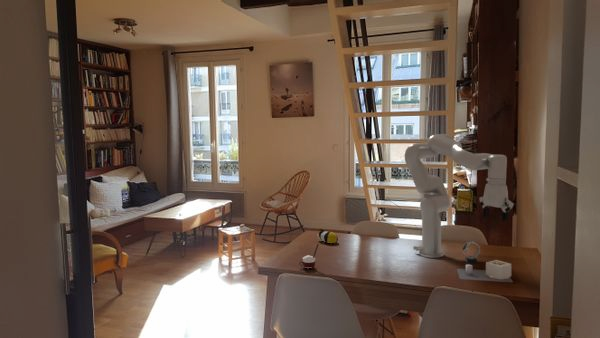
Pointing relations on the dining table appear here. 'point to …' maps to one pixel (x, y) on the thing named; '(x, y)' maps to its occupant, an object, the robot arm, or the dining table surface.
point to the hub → (496, 278)
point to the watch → (470, 258)
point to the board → (477, 275)
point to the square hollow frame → (498, 269)
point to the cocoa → (309, 260)
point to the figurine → (327, 236)
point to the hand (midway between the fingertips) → (495, 218)
